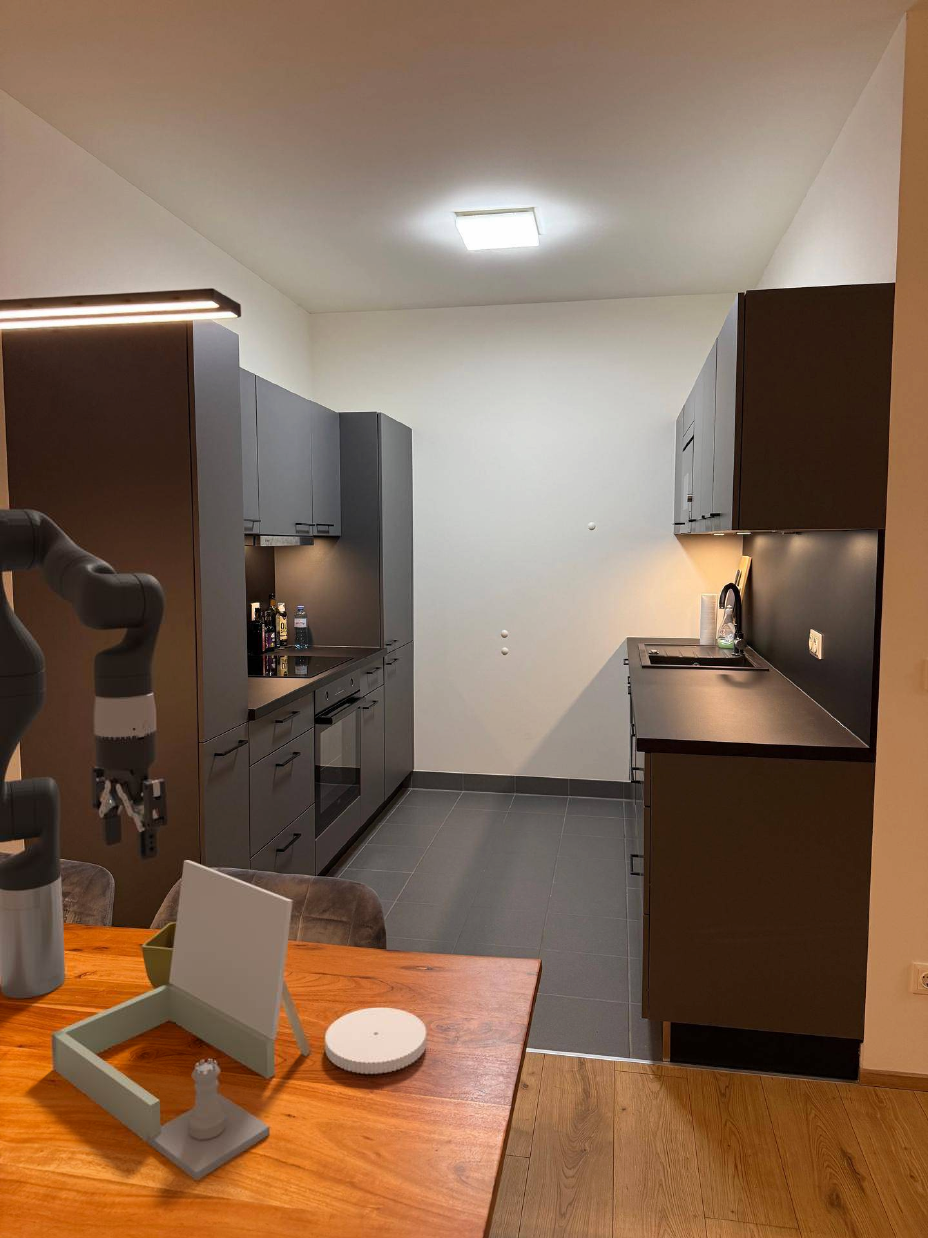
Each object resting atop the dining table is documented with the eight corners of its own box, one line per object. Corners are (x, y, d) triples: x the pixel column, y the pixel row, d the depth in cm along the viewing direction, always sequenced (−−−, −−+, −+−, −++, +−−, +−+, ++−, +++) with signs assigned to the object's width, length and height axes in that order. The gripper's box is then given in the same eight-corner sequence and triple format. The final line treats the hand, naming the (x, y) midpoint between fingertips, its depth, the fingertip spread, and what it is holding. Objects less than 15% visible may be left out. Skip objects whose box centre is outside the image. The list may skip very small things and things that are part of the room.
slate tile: (147, 1142, 104) (146, 1134, 104) (219, 1101, 112) (219, 1093, 112) (196, 1181, 98) (196, 1172, 98) (269, 1134, 105) (269, 1126, 105)
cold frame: (53, 1070, 119) (49, 981, 118) (209, 998, 137) (207, 921, 136) (151, 1147, 103) (148, 1046, 102) (312, 1054, 122) (310, 968, 121)
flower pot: (194, 1008, 134) (192, 950, 134) (141, 1002, 136) (139, 945, 135) (221, 980, 143) (219, 926, 142) (171, 975, 145) (170, 921, 144)
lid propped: (169, 983, 132) (165, 866, 130) (191, 973, 135) (188, 859, 133) (271, 1040, 117) (269, 909, 115) (295, 1028, 120) (292, 899, 118)
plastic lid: (329, 1088, 115) (329, 1069, 115) (321, 1030, 129) (321, 1014, 128) (435, 1073, 118) (435, 1055, 118) (416, 1018, 132) (416, 1002, 132)
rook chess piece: (234, 1122, 106) (233, 1058, 106) (212, 1146, 102) (210, 1079, 101) (203, 1114, 108) (201, 1051, 107) (179, 1137, 103) (177, 1072, 103)
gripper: (70, 726, 116) (74, 846, 117) (128, 741, 107) (132, 871, 108) (123, 717, 122) (127, 832, 123) (182, 731, 113) (186, 855, 114)
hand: (129, 850), depth 116 cm, fingers open, 8 cm apart
